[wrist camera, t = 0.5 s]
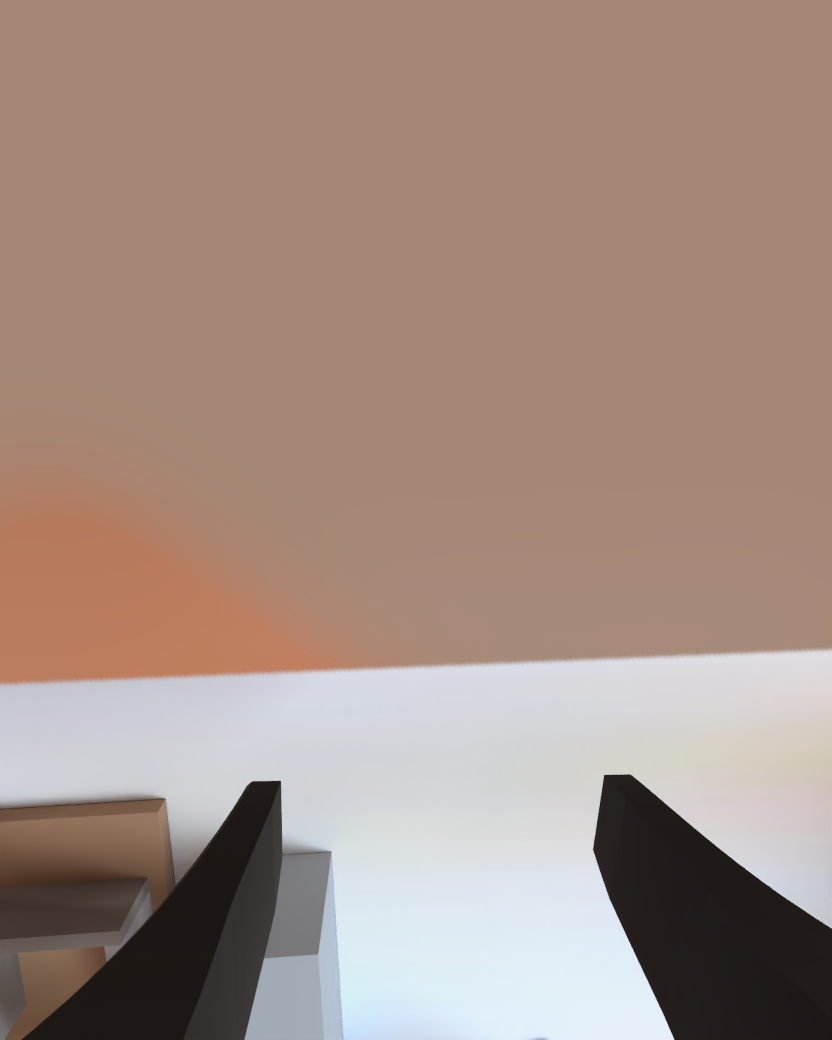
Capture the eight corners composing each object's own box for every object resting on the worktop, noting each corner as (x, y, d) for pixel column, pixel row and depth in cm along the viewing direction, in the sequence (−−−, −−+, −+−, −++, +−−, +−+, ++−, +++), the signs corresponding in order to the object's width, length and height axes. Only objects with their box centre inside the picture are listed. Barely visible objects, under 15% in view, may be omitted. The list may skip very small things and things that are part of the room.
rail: (346, 1078, 26) (337, 1228, 21) (281, 1084, 26) (257, 1236, 21) (331, 848, 24) (318, 953, 19) (262, 853, 24) (230, 961, 19)
